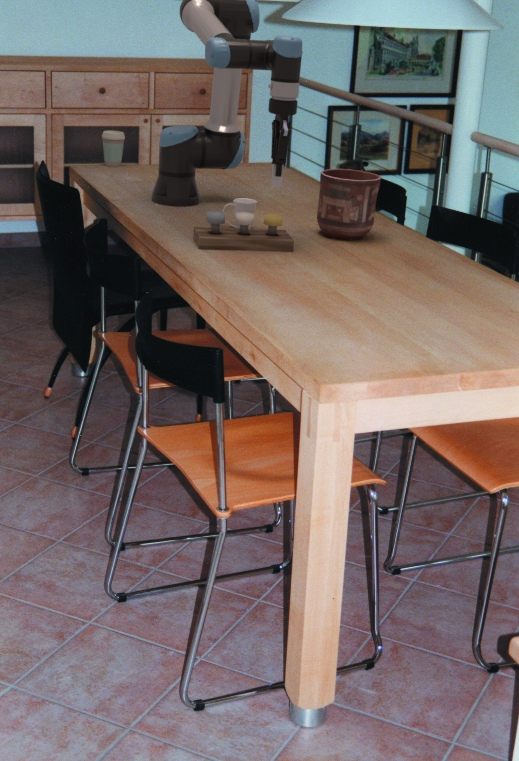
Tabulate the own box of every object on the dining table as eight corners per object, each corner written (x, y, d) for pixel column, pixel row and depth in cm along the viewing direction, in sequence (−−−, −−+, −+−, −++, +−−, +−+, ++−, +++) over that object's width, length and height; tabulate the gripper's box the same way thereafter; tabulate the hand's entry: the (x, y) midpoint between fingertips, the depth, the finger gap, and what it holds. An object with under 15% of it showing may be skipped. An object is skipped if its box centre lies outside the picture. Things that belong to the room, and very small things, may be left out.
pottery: (375, 245, 282) (383, 182, 275) (314, 239, 282) (320, 176, 276) (372, 231, 298) (379, 171, 292) (314, 225, 299) (320, 166, 292)
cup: (256, 231, 286) (259, 203, 283) (223, 229, 285) (224, 202, 282) (253, 225, 293) (255, 198, 290) (220, 223, 291) (221, 196, 288)
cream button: (233, 230, 272) (234, 211, 270) (251, 230, 273) (252, 212, 271) (236, 234, 267) (237, 215, 265) (254, 235, 268) (255, 216, 266)
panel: (193, 237, 274) (194, 226, 273) (284, 240, 279) (285, 229, 278) (199, 249, 263) (199, 238, 262) (293, 251, 268) (294, 240, 267)
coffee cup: (128, 167, 360) (129, 134, 356) (106, 167, 356) (106, 134, 352) (119, 162, 367) (119, 130, 362) (97, 163, 363) (98, 130, 358)
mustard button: (261, 230, 273) (263, 212, 271) (279, 231, 274) (280, 213, 272) (265, 235, 269) (266, 216, 267) (282, 236, 270) (284, 217, 268)
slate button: (204, 229, 270) (205, 210, 268) (222, 229, 271) (223, 211, 269) (207, 233, 266) (208, 215, 264) (225, 234, 267) (226, 215, 265)
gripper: (264, 94, 263) (258, 182, 272) (274, 100, 251) (267, 192, 260) (292, 95, 264) (284, 183, 273) (303, 102, 253) (294, 193, 262)
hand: (276, 187), depth 267 cm, fingers closed
